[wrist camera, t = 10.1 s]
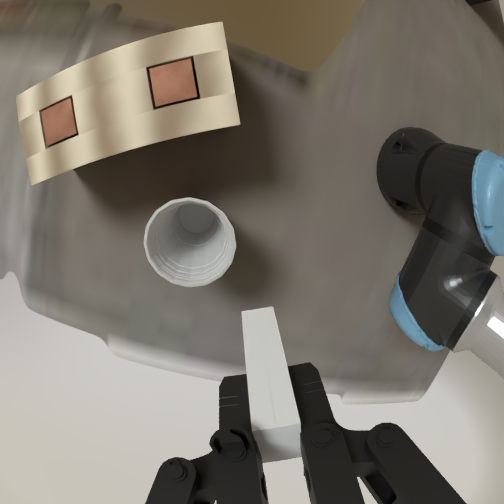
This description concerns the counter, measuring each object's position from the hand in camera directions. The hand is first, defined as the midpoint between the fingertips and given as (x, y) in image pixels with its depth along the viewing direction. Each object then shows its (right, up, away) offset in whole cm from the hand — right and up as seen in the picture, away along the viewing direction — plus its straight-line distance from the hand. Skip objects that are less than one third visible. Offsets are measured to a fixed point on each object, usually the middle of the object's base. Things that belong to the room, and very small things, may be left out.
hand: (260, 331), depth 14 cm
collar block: (-17, +25, +22) cm, 37 cm away
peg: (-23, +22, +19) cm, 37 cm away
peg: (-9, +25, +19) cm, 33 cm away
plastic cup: (-9, +10, +29) cm, 32 cm away
